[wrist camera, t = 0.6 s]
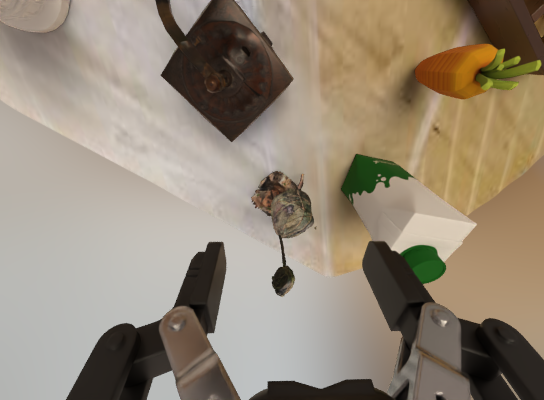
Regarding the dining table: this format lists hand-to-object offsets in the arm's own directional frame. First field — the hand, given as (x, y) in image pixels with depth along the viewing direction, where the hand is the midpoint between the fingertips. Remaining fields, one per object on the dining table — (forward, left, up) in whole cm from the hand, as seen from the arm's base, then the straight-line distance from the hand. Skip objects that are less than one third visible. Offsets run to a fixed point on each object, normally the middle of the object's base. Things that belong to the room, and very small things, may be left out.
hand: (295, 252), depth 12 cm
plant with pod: (+12, -1, -27) cm, 30 cm away
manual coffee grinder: (-10, -6, -27) cm, 30 cm away
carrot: (-5, +21, -27) cm, 35 cm away
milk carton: (+11, +15, -27) cm, 33 cm away
